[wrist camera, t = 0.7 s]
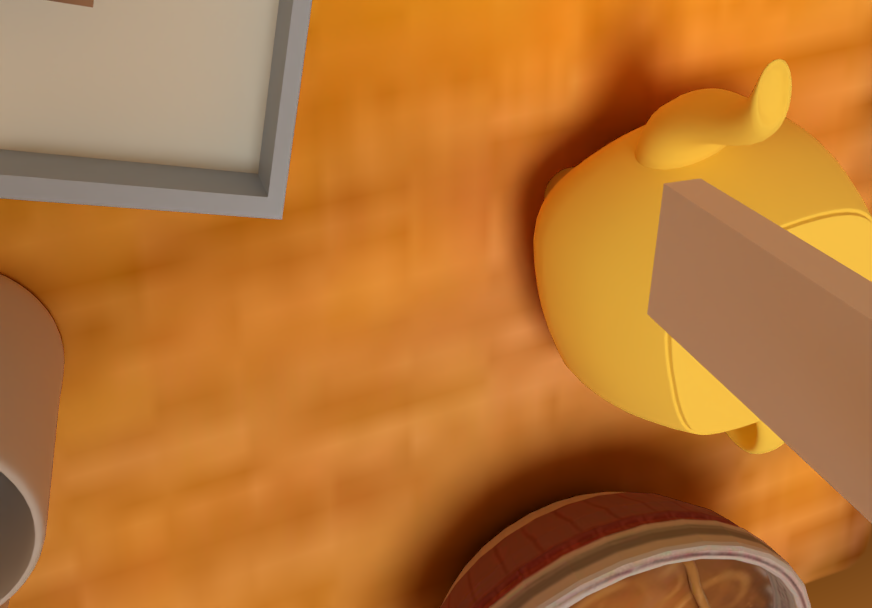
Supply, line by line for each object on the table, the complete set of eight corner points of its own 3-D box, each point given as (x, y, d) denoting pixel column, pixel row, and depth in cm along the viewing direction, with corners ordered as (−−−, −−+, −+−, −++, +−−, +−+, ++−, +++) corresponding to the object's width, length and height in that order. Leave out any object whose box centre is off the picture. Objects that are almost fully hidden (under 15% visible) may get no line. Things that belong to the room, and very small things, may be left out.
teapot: (547, 404, 46) (677, 575, 35) (450, 54, 35) (597, 150, 24) (763, 303, 47) (949, 438, 37) (736, -60, 36) (991, -17, 26)
